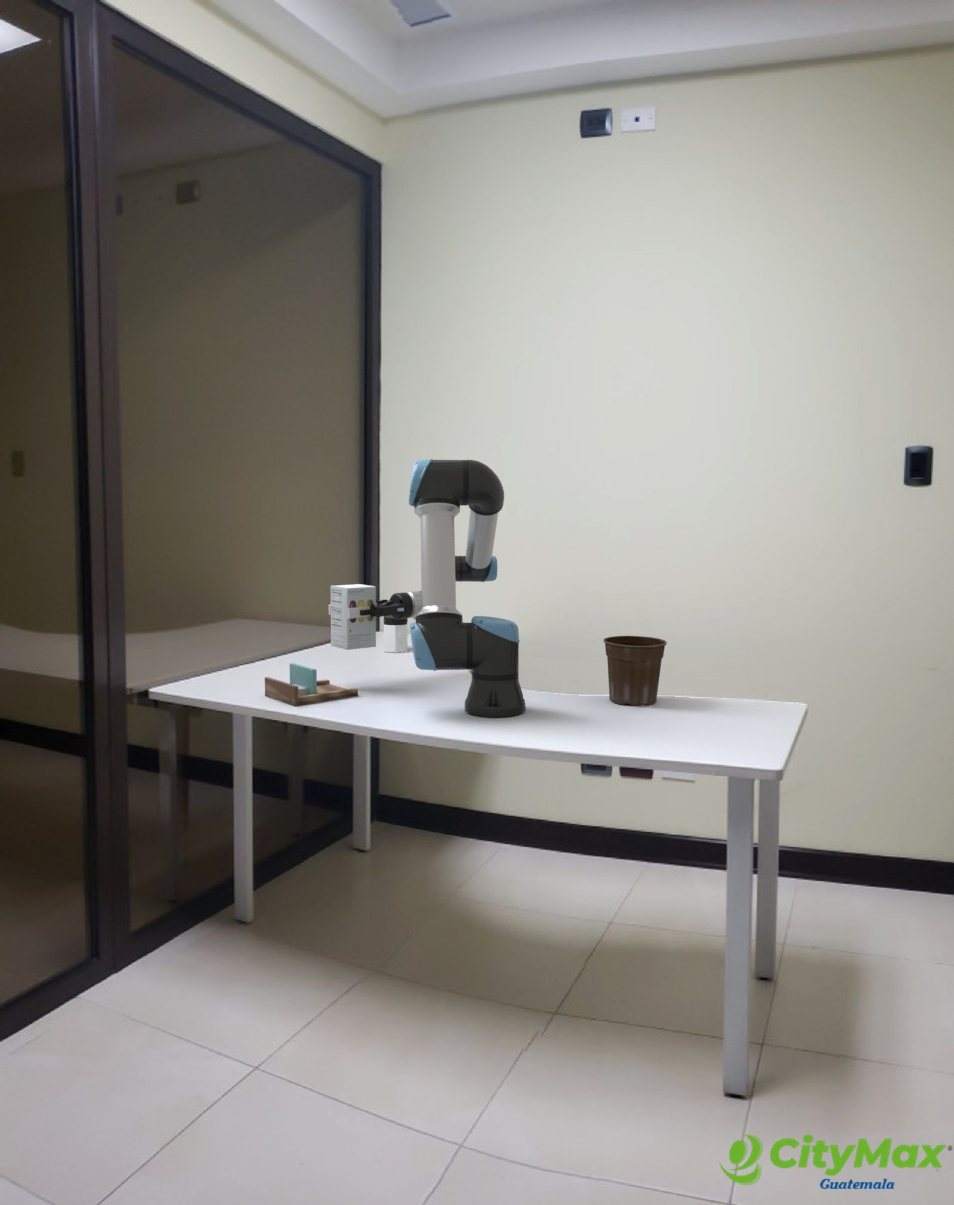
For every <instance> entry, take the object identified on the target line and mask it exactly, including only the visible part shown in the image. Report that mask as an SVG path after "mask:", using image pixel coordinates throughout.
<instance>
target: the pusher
mask: <svg viewBox="0 0 954 1205" xmlns="http://www.w3.org/2000/svg"><path fill="white" fill-rule="evenodd" d="M317 671H318V670H317V669H316V668H313V667H309V666H305V665H302V664H298V663H294V662H290V663H289V684H292V685H295V686H298V696H304V695H312V694H317V681H318V680H317V678H318V677H317Z"/></svg>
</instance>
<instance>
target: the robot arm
mask: <svg viewBox="0 0 954 1205" xmlns="http://www.w3.org/2000/svg"><path fill="white" fill-rule="evenodd" d="M504 504H505V490H504V487H503V483H502V481H501V480H500V478H499V476H498V475H497V473H496V472H494V470H493V469H492V468H490V467H489V466H488V465H486V464H485V463H483V462H481V461H478V460H473V459H433V458H431V459H421V460H419V459H418V460H417V461H416V460H415V462H414V463H413V465H412V471H411V477H410V485H409V495H408V505H409V506H411V507H414V510H413V511H414V512H413V513H415V515H417V517H419V519H420V520H419V521H420V562H421V563H420V578H421V579H420V580H421V582H420V584H421V586H420V588H421V590H420V591H419V590H418V591H417V590H415V591H408V592H407V591H406V592H395V593H393V594H391V596H390V598H389V600H388V599H381V600H379V599H376V606H375V605H373V604H372V605H371V609H370V607H369V606H368V607H356V608H348V618H349V619H350V618H360V617H370V615H371V616H372V617H374V616H376V618H381V617H384V616H389V615H392V616H393V617H394V618H395V619H413V620H415V621H414V622H411V623H410V624H409V625H410V626H409V630H410V639H411V640H410V641H411V645H412V646H411V647H412V653H413V657H414V658H413V659H414V663H415V666H416V667H417V668H418V669H419V670H421V671H422V670H425V671H434V672H436V671H453V670H454V671H455V670H458V671H459V670H460V671H461V670H462V671H463V670H464V671H465V670H468V671H469V670H471V682H470V685H469V688H468V692H467V696H466V698H465V701H464V711H465V713H466V714H470V715H471V716H473V715H474V716H476V717H485V718H506V717H507V718H509V717H515V716H519V715H522V714H525V712H526V701H525V698H524V695H523V694H524V693H523V691H522V687H521V684H520V681H519V672H520V671H519V669H520V668H519V666H520V664H519V656H520V653H519V651H520V650H519V649H520V648H519V645H520V644H519V643H520V642H521V641H520V636H519V633H520V632H519V627H518V624H517V623H516V622H514V621H512V620H510V619H505V618H500V617H496V616H495V617H494V616H487V615H484V616H483V615H480V616H479V615H474V616H472V617H471V620H470V622H464V621H463V614H462V612H460V611H459V610H458V609H457V599H456V598H457V595H456V594H457V592H456V591H457V590H456V587H457V586H456V585H457V584H456V583H458V582H460V583H462V582H470V583H471V582H475V583H476V582H477V583H478V582H479V583H480V582H482V583H485V582H493V581H496V580H497V577H498V559H497V556H496V555H495V556H494V555H493V551H494V546H495V545H494V544H495V539H496V538H495V537H496V532H497V531H496V529H497V523H498V517H499V513H500V512H501V511H502V509H503V506H504ZM462 506H465V507H466V506H468V508H469V517H468V518H469V519H468V528H467V529H468V531H467V538H466V540H467V541H466V550H465V555H456V549H455V548H456V544H455V543H456V542H455V538H456V537H455V518H456V516H457V515H458V514H459V513H460V511H461V507H462ZM328 615H329V616H331V604H328Z"/></svg>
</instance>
